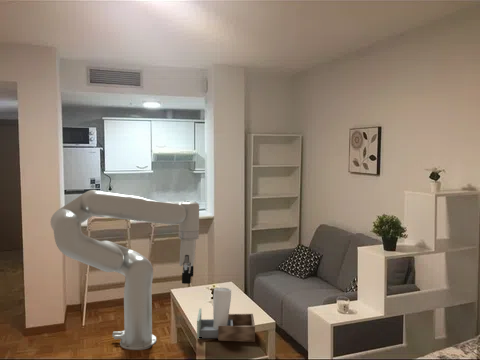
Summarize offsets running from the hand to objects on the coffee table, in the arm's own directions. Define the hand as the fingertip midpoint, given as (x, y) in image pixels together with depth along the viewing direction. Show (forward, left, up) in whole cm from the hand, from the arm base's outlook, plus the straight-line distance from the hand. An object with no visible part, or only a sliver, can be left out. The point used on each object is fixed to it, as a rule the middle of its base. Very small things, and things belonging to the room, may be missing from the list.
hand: (187, 279), depth 152 cm
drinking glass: (+12, 0, -19) cm, 23 cm away
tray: (+10, 0, -21) cm, 23 cm away
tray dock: (+18, 0, -22) cm, 29 cm away
